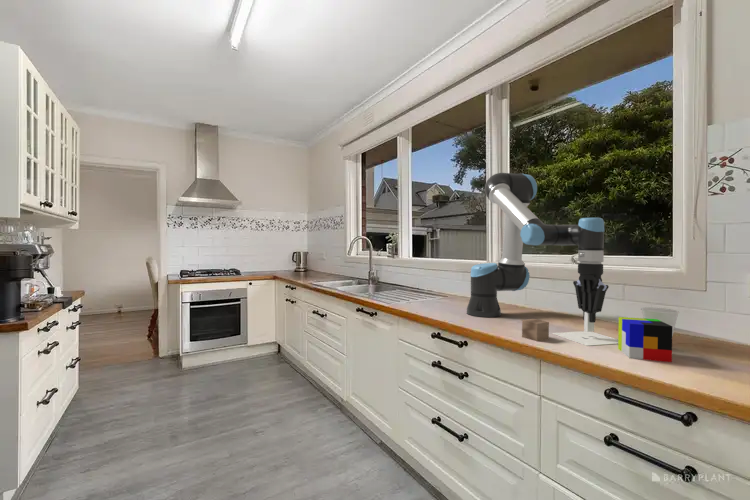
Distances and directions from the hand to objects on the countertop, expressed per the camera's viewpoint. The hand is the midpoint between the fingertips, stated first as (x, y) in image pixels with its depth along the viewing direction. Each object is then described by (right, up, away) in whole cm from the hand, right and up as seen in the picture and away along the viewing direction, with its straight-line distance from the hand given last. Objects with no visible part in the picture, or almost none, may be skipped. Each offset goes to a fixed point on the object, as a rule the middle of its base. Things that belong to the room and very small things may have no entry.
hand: (589, 331), depth 124 cm
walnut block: (-18, -3, 0) cm, 19 cm away
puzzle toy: (+5, -3, -18) cm, 19 cm away
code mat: (0, -3, 0) cm, 3 cm away
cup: (+20, -3, -6) cm, 21 cm away
